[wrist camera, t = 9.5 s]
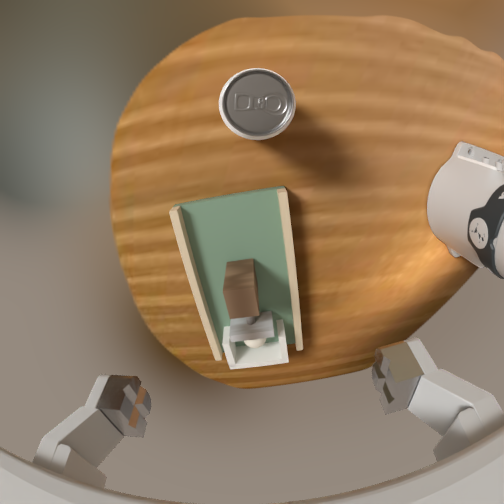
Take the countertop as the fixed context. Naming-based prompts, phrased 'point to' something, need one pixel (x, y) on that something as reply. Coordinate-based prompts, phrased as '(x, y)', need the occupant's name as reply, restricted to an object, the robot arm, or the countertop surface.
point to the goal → (256, 351)
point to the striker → (245, 303)
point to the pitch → (240, 257)
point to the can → (257, 104)
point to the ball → (255, 343)
